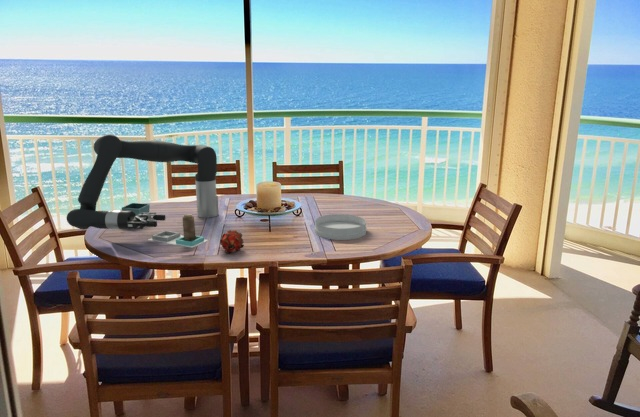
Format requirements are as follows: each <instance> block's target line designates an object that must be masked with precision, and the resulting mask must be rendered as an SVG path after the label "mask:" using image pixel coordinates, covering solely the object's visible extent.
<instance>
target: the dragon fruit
mask: <svg viewBox="0 0 640 417" xmlns="http://www.w3.org/2000/svg"><path fill="white" fill-rule="evenodd" d="M242 237H243V234H242V233H241V232H239V231H238V230H236V229H234V230H231V229H229V230H227V232H226V233H223V234H222V235H221V239H220V241H219V244H220V245H221V247H222V249H223V250H225V252H226V254H228V255H229V254H231V253H234V252H239V251H240V250H241V249H243V248H244V246H245V244H244V239H243V238H242Z"/></svg>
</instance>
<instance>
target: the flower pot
mask: <svg viewBox="0 0 640 417" xmlns="http://www.w3.org/2000/svg"><path fill="white" fill-rule="evenodd" d="M150 205H151V204H150V203H138V202H131V203H129V204H127V205H125V206H122V207H121V211H133V212H134V213H135V215H138V214H141V213H150V209H151V207H150ZM147 221H148V219H147Z"/></svg>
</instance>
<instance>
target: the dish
mask: <svg viewBox="0 0 640 417" xmlns="http://www.w3.org/2000/svg"><path fill="white" fill-rule="evenodd" d="M314 222H315V226H314V233H315V234H316V235H317V236H319V237H320V238H324V239H329V240H338V241H341V240H343V241H344V240H345V241H347V240H355V239H360V238H361V237H364V236H365V235H366V234H367V221H366V219H365V218H363V217H361V216H358V215H353V214H345V213H344V214H342V213H333V214H326V215H322V216H319V217H317V218H316V219H315V221H314Z"/></svg>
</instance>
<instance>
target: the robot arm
mask: <svg viewBox="0 0 640 417" xmlns="http://www.w3.org/2000/svg"><path fill="white" fill-rule="evenodd" d="M93 151H94V152H95V154H96V159H95V161H94V163H93V166H92V168H91V170H90V172H89V174H88V175H87V177H86V178H85V181H84V182H83V185H82V187H81V189H80V193H79V195H78V197H77V202H78V204H80V205H79V206H80V207H79V208H75V209H72V210H70V211H69V212H68V213H67V214H66V222H67V224H68V225H70V226H71V227H73V228H76V229H79V230H83V231H84V230H87V229H90V228H95V229H104V230H106V229H107V230H109V229H110V230H114V231H115V230H118V231H119V230H121V231H122V230H123V231H125V230H126V231H132V230H134V229H136V230H142V229H145V228H156V227H158V222H157V221H166V214H157V212H149V213H141V214H138V215H135V213H134V212H133V211H122V210H118V209H117V210H97V203H98V200H99V198H100V196H101V193H102V190H103V188H104V185H105V182H106V179H107V178H108V175H109V172H110V171H111V169H112V166H113V165H114V163H115V161H116V159H134V160H139V161H146V162H153V163H154V162H155V163H173V162H187V163H192V164H197V173H196V174H195V176H194V178H195V179H194V180H195V182H194V183H195V193H196V194H195V195H196V196H195V197H196V214H197V217H199V218H203V219H204V218H214V217H216V216H219V215H220V213H219V212H220V211H219V197H218V196H219V195H217V181H216V180H217V179H216V177H217V176H216V175H217V171H218V168H217V167H218V164H217V163H218V161H217V159H218V158H217V152H216V151H215V149H214V148H213V147H211V146H207V145H203V144H196V145H195V144H194V145H193V144H192V145H190V144H187V145H186V144H179V143H174V142H170V141H163V140H162V141H161V140H154V139H153V140H152V139H151V140H148V139H145V140H123V139H120V138H119V137H118V136H116V135H115V134H105V135H102V136H100V137H99V138H97V139H96V140H95V141H94V143H93ZM147 219H148V220H147Z"/></svg>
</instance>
